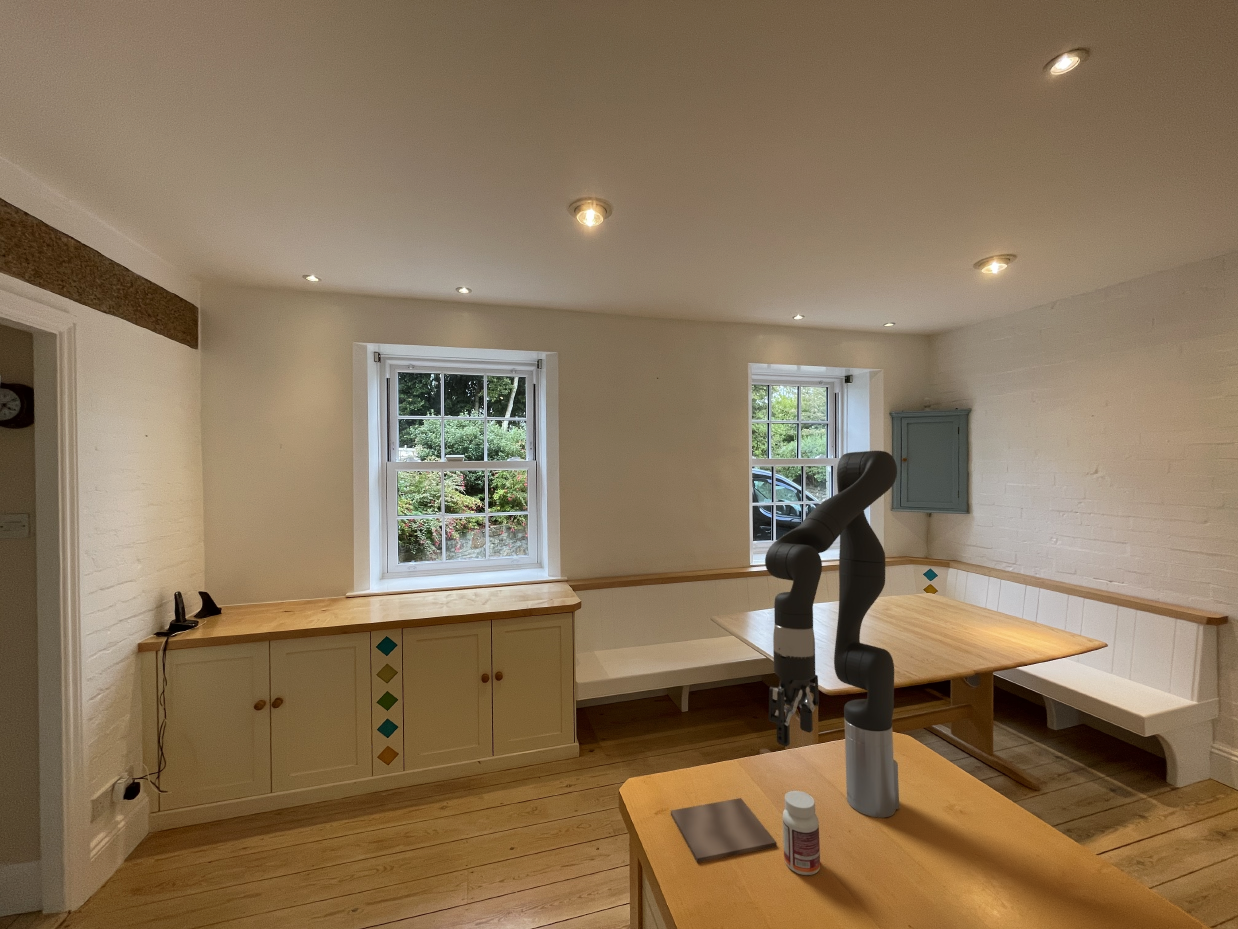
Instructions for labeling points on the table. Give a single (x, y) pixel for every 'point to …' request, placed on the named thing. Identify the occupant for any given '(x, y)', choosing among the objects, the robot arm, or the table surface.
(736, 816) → the walnut board
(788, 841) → the pill bottle
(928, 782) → the table surface
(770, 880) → the table surface
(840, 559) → the robot arm
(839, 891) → the table surface
